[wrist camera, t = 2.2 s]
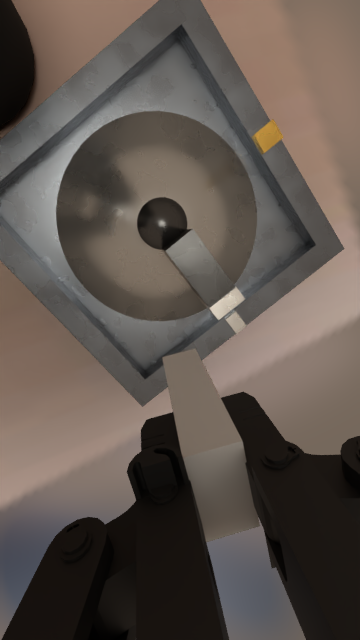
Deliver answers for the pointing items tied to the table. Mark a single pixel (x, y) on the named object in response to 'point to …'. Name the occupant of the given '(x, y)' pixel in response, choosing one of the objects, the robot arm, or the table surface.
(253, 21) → the table surface
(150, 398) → the grey square tray
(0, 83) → the coffee jar
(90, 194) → the dial
